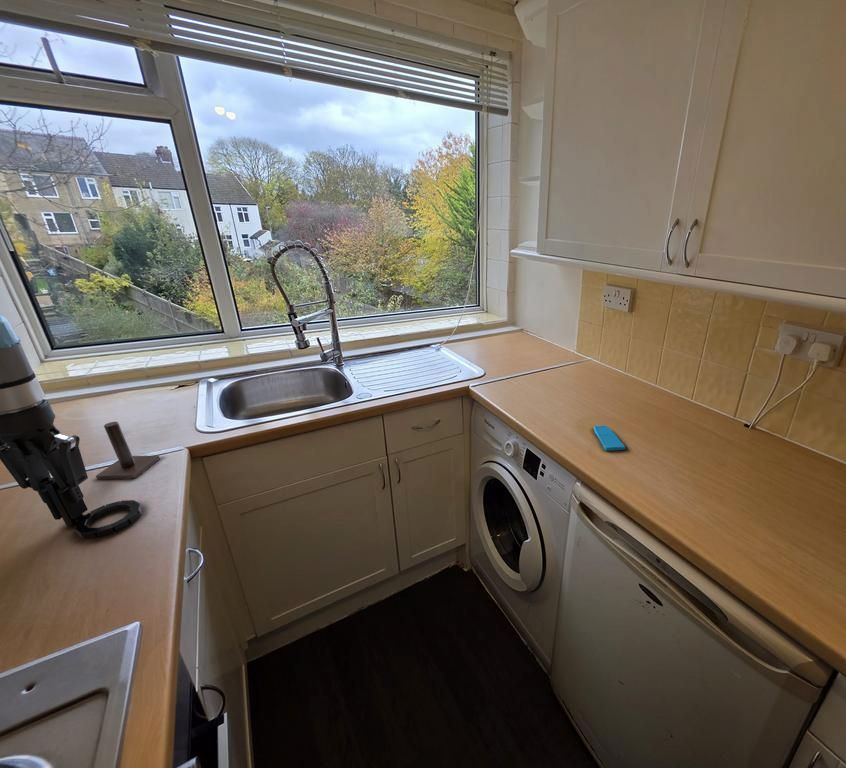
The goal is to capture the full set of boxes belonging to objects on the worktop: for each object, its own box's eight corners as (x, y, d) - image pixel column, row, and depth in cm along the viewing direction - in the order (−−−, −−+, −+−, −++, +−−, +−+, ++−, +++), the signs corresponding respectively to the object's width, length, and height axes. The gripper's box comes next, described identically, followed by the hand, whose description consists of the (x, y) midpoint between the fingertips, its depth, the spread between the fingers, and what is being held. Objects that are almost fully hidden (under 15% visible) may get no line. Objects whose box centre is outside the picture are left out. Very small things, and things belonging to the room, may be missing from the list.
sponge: (612, 425, 118) (593, 423, 117) (627, 447, 107) (606, 446, 106) (611, 430, 118) (592, 428, 117) (625, 452, 107) (604, 451, 106)
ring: (153, 504, 84) (136, 464, 80) (117, 537, 76) (96, 494, 72) (93, 506, 83) (73, 466, 79) (49, 540, 75) (24, 496, 71)
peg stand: (97, 479, 91) (75, 433, 87) (125, 459, 99) (107, 415, 94) (134, 478, 92) (115, 432, 87) (160, 458, 99) (143, 415, 95)
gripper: (82, 395, 73) (129, 500, 82) (-9, 396, 72) (48, 502, 81) (41, 415, 66) (97, 527, 75) (-61, 416, 65) (8, 530, 74)
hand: (71, 514), depth 78 cm, fingers open, 2 cm apart
